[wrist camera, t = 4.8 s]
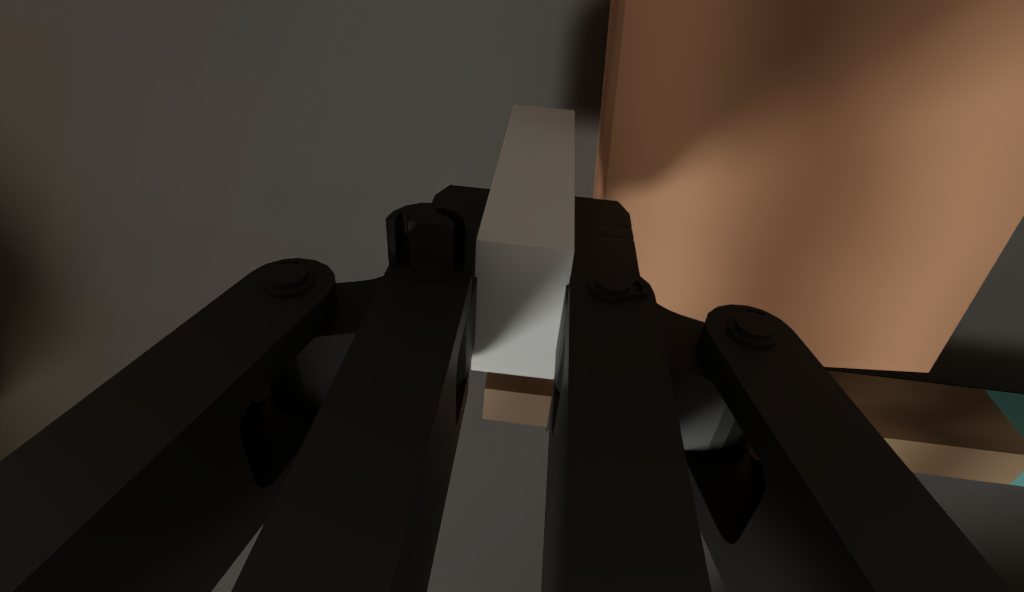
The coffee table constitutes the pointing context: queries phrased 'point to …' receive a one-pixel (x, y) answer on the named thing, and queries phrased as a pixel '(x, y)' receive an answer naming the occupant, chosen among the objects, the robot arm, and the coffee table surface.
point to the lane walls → (885, 403)
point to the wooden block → (818, 161)
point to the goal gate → (1011, 415)
